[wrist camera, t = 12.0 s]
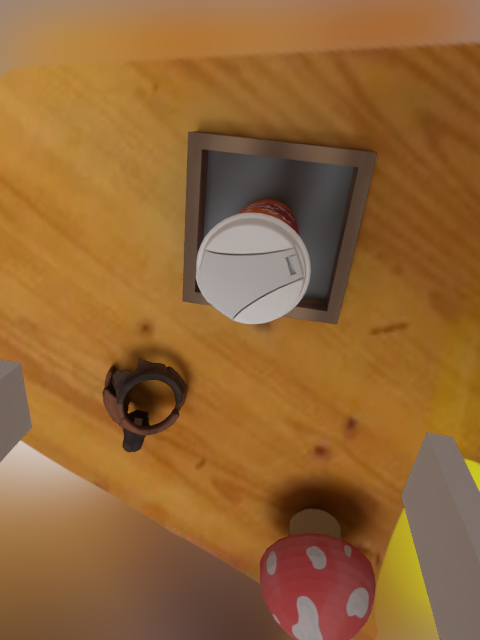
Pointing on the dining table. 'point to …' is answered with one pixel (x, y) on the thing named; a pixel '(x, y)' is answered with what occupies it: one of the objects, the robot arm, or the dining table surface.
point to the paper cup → (254, 264)
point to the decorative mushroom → (317, 580)
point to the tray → (288, 188)
